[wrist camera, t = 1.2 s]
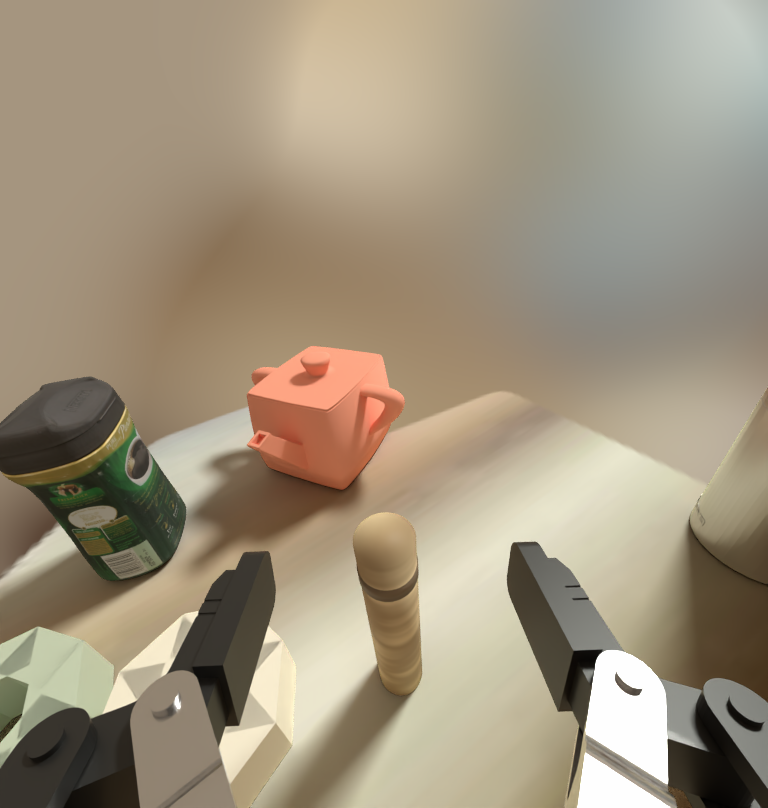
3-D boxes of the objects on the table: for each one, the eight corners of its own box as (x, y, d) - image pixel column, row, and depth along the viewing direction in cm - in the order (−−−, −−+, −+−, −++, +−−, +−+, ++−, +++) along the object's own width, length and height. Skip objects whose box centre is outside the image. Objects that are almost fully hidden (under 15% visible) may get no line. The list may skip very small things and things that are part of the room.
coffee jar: (122, 516, 42) (20, 379, 31) (194, 499, 43) (119, 362, 33) (88, 595, 34) (-63, 447, 23) (177, 571, 35) (72, 420, 25)
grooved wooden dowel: (430, 663, 27) (429, 530, 18) (406, 707, 25) (391, 581, 16) (395, 635, 29) (378, 502, 20) (370, 675, 27) (338, 546, 18)
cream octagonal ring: (326, 696, 26) (314, 670, 23) (180, 907, 19) (141, 903, 16) (237, 608, 32) (221, 580, 29) (101, 743, 25) (63, 722, 22)
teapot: (300, 404, 59) (280, 324, 52) (426, 430, 51) (425, 340, 43) (207, 489, 44) (159, 395, 37) (362, 546, 36) (343, 440, 28)
